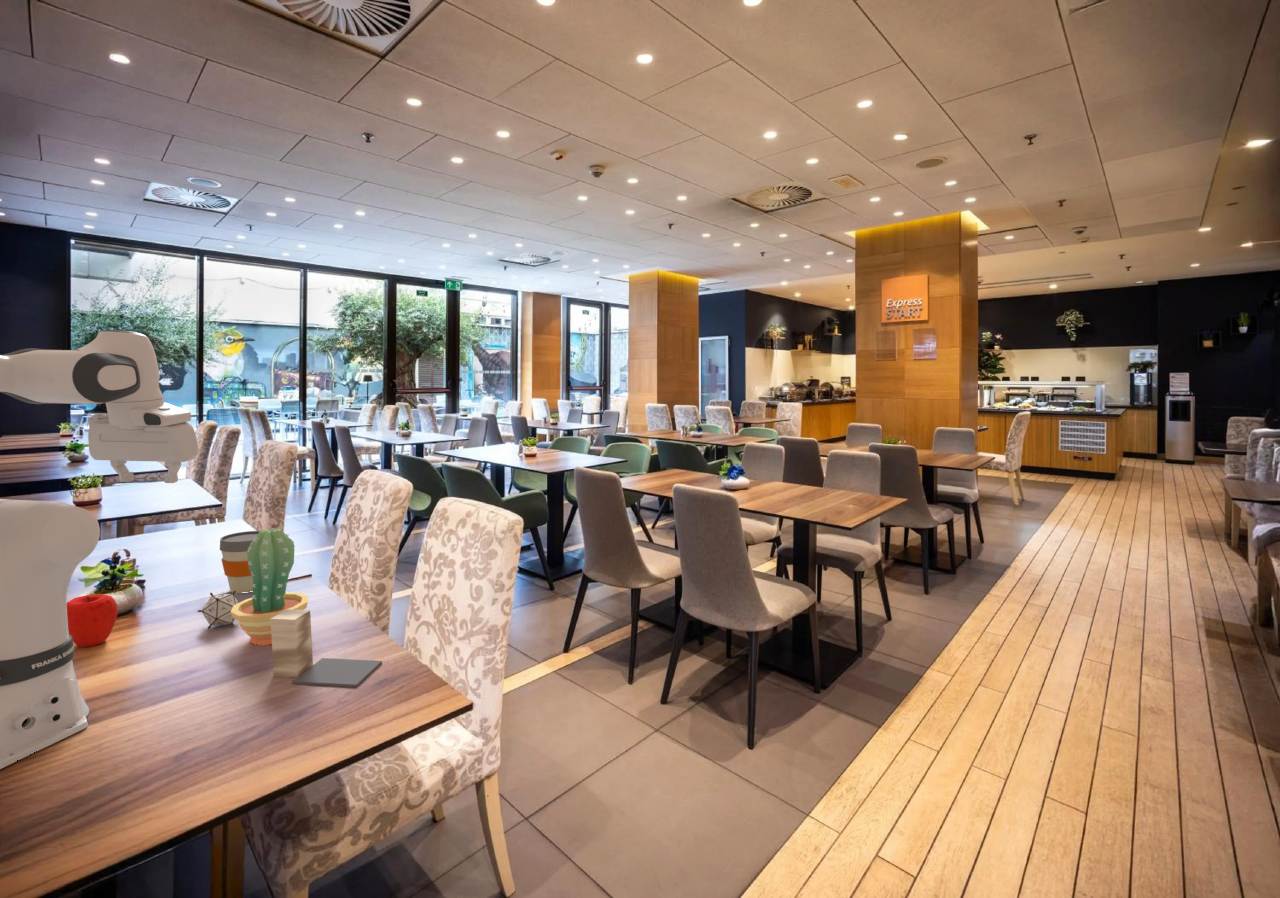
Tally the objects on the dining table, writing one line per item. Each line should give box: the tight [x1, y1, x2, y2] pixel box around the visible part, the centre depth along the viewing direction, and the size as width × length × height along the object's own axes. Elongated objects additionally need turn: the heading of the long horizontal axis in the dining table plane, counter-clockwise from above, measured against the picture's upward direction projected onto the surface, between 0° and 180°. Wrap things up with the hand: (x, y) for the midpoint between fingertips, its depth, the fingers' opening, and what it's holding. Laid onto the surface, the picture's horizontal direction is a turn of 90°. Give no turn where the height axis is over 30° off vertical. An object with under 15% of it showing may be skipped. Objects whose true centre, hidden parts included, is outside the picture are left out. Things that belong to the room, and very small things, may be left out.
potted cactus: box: [231, 527, 309, 646], centre depth 138 cm, size 15×15×25 cm
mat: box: [291, 657, 383, 688], centre depth 123 cm, size 10×13×1 cm
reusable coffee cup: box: [219, 530, 261, 594], centre depth 170 cm, size 13×13×15 cm
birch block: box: [271, 609, 314, 679], centre depth 123 cm, size 5×5×12 cm
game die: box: [197, 590, 240, 630], centre depth 145 cm, size 9×8×10 cm
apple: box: [67, 593, 119, 648], centre depth 135 cm, size 9×9×11 cm
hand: (149, 481), depth 123 cm, fingers open, 8 cm apart
